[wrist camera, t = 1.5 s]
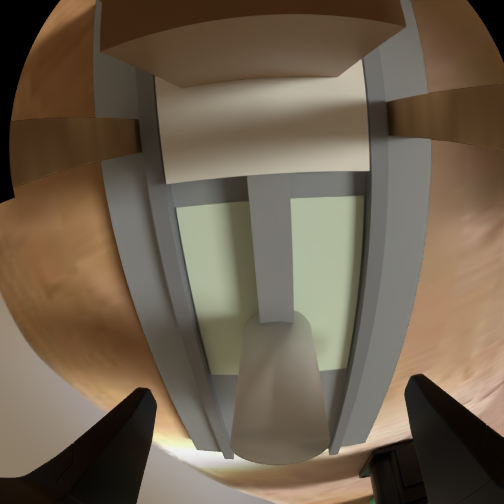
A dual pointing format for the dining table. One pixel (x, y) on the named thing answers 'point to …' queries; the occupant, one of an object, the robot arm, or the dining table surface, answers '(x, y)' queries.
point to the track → (242, 253)
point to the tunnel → (127, 130)
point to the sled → (261, 159)
